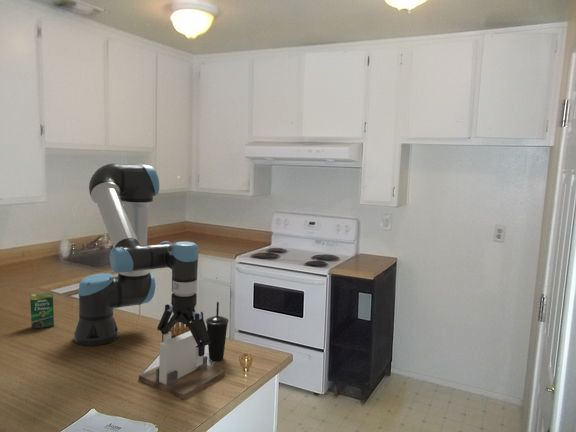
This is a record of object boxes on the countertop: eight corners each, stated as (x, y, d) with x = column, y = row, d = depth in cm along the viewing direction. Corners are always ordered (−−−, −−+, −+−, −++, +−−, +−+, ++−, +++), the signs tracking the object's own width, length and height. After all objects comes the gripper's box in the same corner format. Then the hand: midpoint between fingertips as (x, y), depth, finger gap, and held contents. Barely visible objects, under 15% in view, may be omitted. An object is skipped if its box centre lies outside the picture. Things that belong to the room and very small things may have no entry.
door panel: (159, 381, 136) (159, 343, 135) (196, 362, 150) (197, 327, 148) (166, 384, 135) (166, 345, 133) (203, 365, 148) (204, 330, 147)
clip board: (138, 379, 140) (138, 364, 139) (181, 359, 155) (181, 345, 154) (183, 399, 130) (184, 382, 129) (224, 375, 145) (225, 360, 144)
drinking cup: (202, 354, 159) (204, 299, 157) (224, 352, 162) (226, 298, 160) (207, 364, 152) (208, 306, 150) (229, 361, 155) (231, 305, 153)
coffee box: (30, 329, 174) (29, 296, 173) (30, 326, 177) (30, 293, 175) (54, 326, 178) (53, 294, 176) (54, 324, 180) (53, 292, 179)
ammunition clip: (199, 347, 165) (200, 315, 164) (199, 350, 163) (200, 317, 162) (169, 347, 164) (170, 315, 162) (168, 350, 162) (169, 317, 161)
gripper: (146, 287, 142) (145, 352, 145) (206, 304, 129) (204, 375, 132) (164, 282, 149) (163, 344, 151) (223, 298, 136) (221, 366, 138)
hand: (182, 359), depth 142 cm, fingers open, 13 cm apart
